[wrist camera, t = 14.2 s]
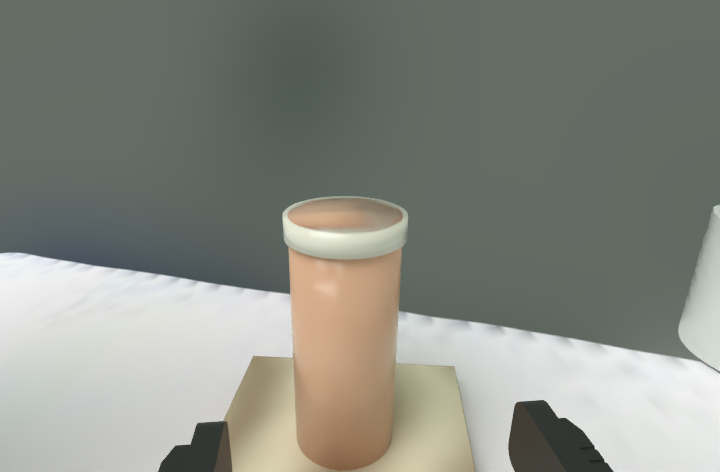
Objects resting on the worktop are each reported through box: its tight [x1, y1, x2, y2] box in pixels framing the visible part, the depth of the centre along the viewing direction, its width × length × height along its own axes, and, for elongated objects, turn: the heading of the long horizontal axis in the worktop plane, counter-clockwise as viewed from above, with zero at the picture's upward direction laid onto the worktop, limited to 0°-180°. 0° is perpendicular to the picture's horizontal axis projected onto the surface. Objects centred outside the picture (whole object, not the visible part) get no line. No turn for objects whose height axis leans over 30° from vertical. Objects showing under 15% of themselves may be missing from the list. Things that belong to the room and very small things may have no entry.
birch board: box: [223, 356, 475, 472], centre depth 25 cm, size 13×12×1 cm
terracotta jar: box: [283, 196, 408, 470], centre depth 23 cm, size 5×5×12 cm
